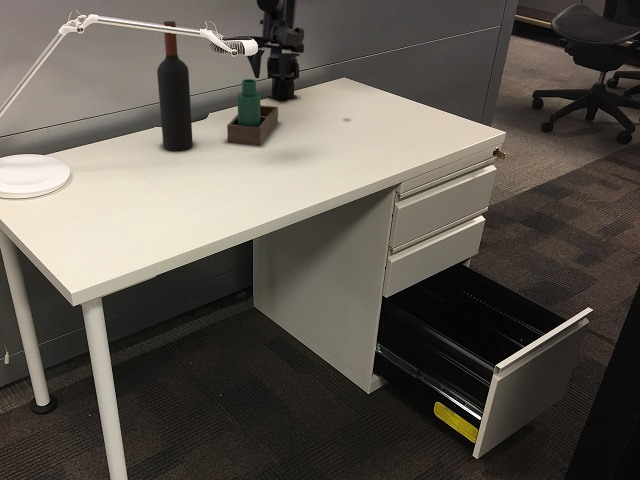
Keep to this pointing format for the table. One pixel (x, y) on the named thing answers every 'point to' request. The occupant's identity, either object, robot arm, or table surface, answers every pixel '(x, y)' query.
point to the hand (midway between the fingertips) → (270, 79)
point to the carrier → (253, 128)
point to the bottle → (249, 104)
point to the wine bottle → (174, 97)
